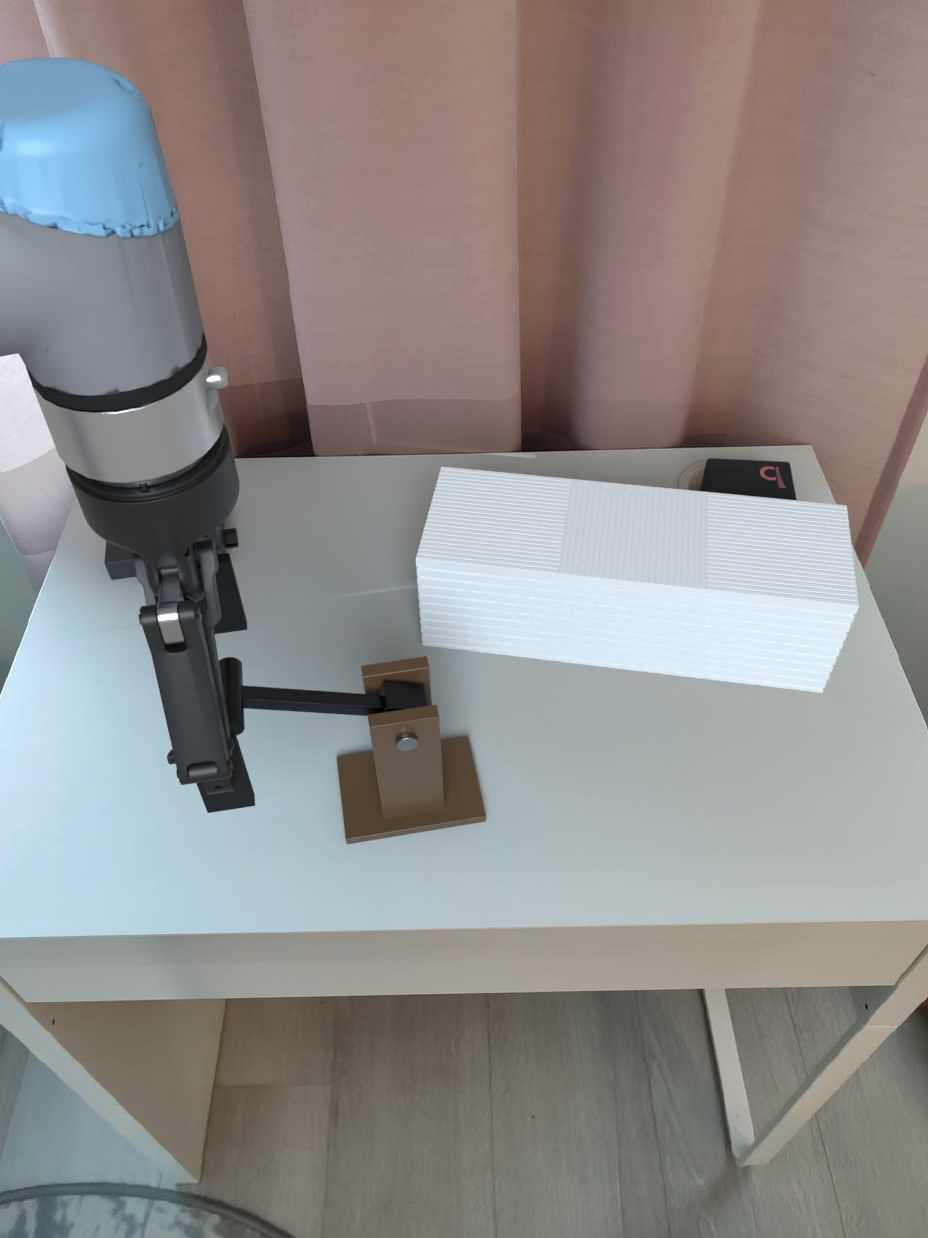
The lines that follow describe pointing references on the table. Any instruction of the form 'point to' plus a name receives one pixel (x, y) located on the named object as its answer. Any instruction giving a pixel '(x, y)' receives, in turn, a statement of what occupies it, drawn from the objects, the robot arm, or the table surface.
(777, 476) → the electronic device
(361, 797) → the bracket
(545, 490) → the stack of papers
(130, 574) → the control block
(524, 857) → the table surface
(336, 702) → the lever
